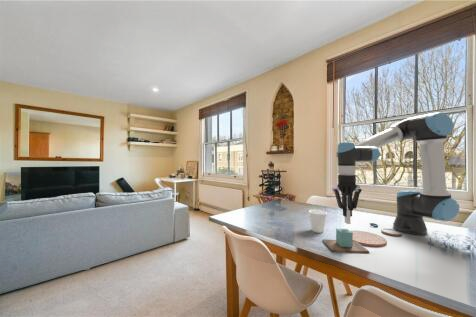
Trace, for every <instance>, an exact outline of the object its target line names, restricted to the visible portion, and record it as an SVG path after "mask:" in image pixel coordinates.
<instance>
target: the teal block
mask: <svg viewBox="0 0 476 317" xmlns="http://www.w3.org/2000/svg"><path fill="white" fill-rule="evenodd" d="M353 235H354V233H353V232H352V231H351V230H350V229H348V228H335V240H336V242H337V243H338V244H339V245H340V246H341V247H353V238H354V236H353Z"/></svg>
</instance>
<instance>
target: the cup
mask: <svg viewBox="0 0 476 317" xmlns="http://www.w3.org/2000/svg"><path fill="white" fill-rule="evenodd" d="M308 214H309V220H310V227H311V231H312V232H314V233H316V234H317V233H318V234H322V233H323V232H324V230H325V224H326V219H327V214H328V212H327V211H324V210H322V209H321V210H320V209H310V210H308Z"/></svg>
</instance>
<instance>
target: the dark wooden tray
mask: <svg viewBox="0 0 476 317" xmlns="http://www.w3.org/2000/svg"><path fill="white" fill-rule="evenodd" d="M321 242H323V243H324V244H325V246H326V247H327V248H328V249H329V251H330V252H332V253H350V254H351V253H355V254H370V250H368V249H367V248H366V247H365V246H363V245H362V244H361V243H359V242H358V241H357V240H353V247H341V246H340V245H339V244H338V243H337V242H336V239H325V238H324V239H322V241H321Z"/></svg>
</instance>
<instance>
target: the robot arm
mask: <svg viewBox="0 0 476 317" xmlns="http://www.w3.org/2000/svg"><path fill="white" fill-rule="evenodd" d="M453 130H454V121H453V119H452V118H451V117H450V116H449V115H448V114H447V113H444V112H431V113H430V112H429V113H427V114H423V115H418V116H412V117H408V118H406V119H403V120H401V121H399V122H397V123H395V124H392V125H390V126H388V127H387V129H386V130H384V131H381V132H379V133H377V134H374V135H372V136H370V137H368V138H365V139H363V140H361V141H358V142H356V143H355V142H353V141H352V142H351V141H349V142H339V143H338V144H337V151H336V155H335V156H336V157H337V174H338V175H337V179H338V180H337V182H338V184H337V187H334V188H332V191H333V193H334V195H335V199H336V202H337V206H338V208H340V209H342V216H343V217H344V223H345V224H346V225H351V224H352V223H351V217H353V211H354V210H356V209H357V208H358V207H357V206H358V203H359V199H360V198H359V197H360V194H361V192H362V191H363V190H362V188H359V187H358V186H357V184H356V181H357V178H356V173H357V172H356V163H358V162H360V163H361V162H362V163H363V162H368V163H369V162H370V163H371V162H376V161H377V160H379V158H380V156H381V155H380V154H381V153H380V148H383V147H384V146H387V145H389V144H391V143H393V142H395V143H398V142H401V141H403V140H409V139H410V140H411V139H415V142H416V143H418V144H419V149H420V150H419V151H420V164H421V177H422V178H421V180H422V190H399V191H397V193H396V216H395V219H394V222H393V223H392V224H393V225H392V228H393V229H394V230H395V231H399V232H402V233H406V234H410V235H417V236H418V235H419V236H424V235H428V228H427V225H426V223H425V220H424V217H426V218H429V219H433V220H435V221H441V222H450V221H453V220H454V219H455V218H456V217H457V216H458V214H459V212H460V204H459V202H458V201H457V200H455V199H454V198H452V194H451V192H449V191H448V190H447V180H446V168H445V166H446V164H445V153H444V152H445V150H444V143H445V141H446V140H448V135H450V134H451V133H452V132H453ZM340 192H341V195H340Z"/></svg>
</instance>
